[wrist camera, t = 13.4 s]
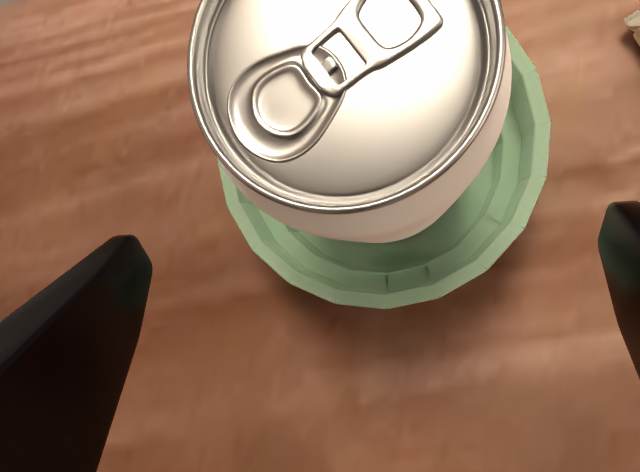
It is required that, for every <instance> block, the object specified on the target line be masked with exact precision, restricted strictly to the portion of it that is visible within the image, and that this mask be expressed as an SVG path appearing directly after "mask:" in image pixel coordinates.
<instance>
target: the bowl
mask: <svg viewBox="0 0 640 472" xmlns="http://www.w3.org/2000/svg"><path fill="white" fill-rule="evenodd" d="M505 29H506V33H507V37H508V42H509V47H510V53H511V63H512V83H511V93H510V100H509V105H508V110H507V114H506V117H505V121H504V124H503V127H502V130H501V133H500V135H499V138H498V140H497V143H496V145H495V147H494V149H493V151H492V153H491V155H490V156H489V158H488V160H487V161H486V163H485V164H484V166H483V168H482V169H481V171H480V172H479V173H478V175H477V176H476V178H475V179H474V180H473V181H472V183H471V184H470V185H469V186H468V188H467V189H466V190H465V191H464V192H463V193H462V194H461V196H460V197H459V198H458V199H457V200H456V201H455V202H454V203H453V204H452V205H451V206H450V207H449V208H448V209H447V210H446V211H445V212H444V213H443V214H442V215H441V216H440V217H439V218H438V219H437V220H436V221H435V222H434V223H433V224H431V225H430V226H429V227H427V228H426V229H424V230H423V231H421V232H419V233H417V234H415V235H413V236H411V237H408V238H406V239H402V240H399V241H394V242H387V243H366V242H354V241H344V240H337V239H330V238H324V237H320V236H316V235H312V234H309V233H305V232H302V231H299V230H297V229H294V228H292V227H289V226H287V225H285V224H283V223H281V222H279V221H278V220H276V219H274V218H273V217H271V216H269V215H268V214H266V213H265V212H263V211H262V210H261V209H259V208H258V207H257V206H255V205H254V204H253V203H252V202H251V201H250V200H249V199H247V198H246V197H245V196H244V195H243V194H242V192H241V191H240V190H239V189H238V188H237V187H236V186H235V184H234V183H233V182H232V181H231V179H230V178H229V176H228V175H227V173H226V172H225V170H224V169H223V167H222V165H221V163H220V162H219V160H218V158H217V160H218V161H217V163H218V167H219V172H220V176H221V181H222V185H223V190H224V195H225V199H226V204H227V207H228V210H229V211H230V213H231V215H232V217H233V218H234V220H235V222H236V224H237V225H238V227H239V229H240V231H241V232H242V234H243V236H244V237H245V239H246V241H247V243H248V244H249V246H250V248H251V249H253V252H254V253H256V254H257V255H258V256H259V257H260V258H261V259H262V260H263V261H264V262H265V263H267V264H268V265H269V266H270V267H271V268H272V269H273V270H274V271H275V272H276V273H278V274H279V275H280V276H281V277H282V278H283V279H284V280H285V281H286V282H289V284H291V285H293V286H296V287H298V288H300V289H302V290H304V291H307V292H309V293H311V294H313V295H316V296H318V297H320V298H322V299H324V300H327V301H329V302H331V303H335V304H340V305H349V306H358V307H367V308H377V309H391V308H396V307H401V306H406V305H410V304H415V303H420V302H425V301H430V300H434V299H438V298H441V297H442V296H444V295H446V294H448V293H449V292H451V291H453V290H455V289H456V288H458V287H460V286H462V285H463V284H465V283H467V282H469V281H470V280H472V279H474V278H476V277H477V276H479V275H481V274H483V273H484V272H486V270H488V269H489V268H490V267H491V266H492V265H493V264H494V263H495V262H496V260H497V259H498V258H499V257H500V256H501V255H502V254H503V253H504V252H505V250H506V249H507V248H508V247H509V246H510V245H511V244H512V243H513V242H514V240H515V239H516V238H517V237H518V236H519V235H520V234H521V233H522V232H523V229H524V228H525V227H526V225H527V222H528V220H529V218H530V216H531V213H532V211H533V209H534V206H535V204H536V202H537V199H538V197H539V195H540V193H541V190H542V188H543V186H544V183H545V181H546V177H547V170H548V157H549V145H550V132H551V123H550V122H551V120H550V116H549V112H548V109H547V105H546V101H545V97H544V94H543V90H542V86H541V82H540V79H539V75H538V71H537V70H536V67H535V66H534V65H533V63H532V62H531V60H530V59H529V57H528V56H527V54H526V53H525V51H524V50H523V49H522V47H521V46H520V44H519V43H518V41H517V40H516V38H515V37H514V36H513V34H512V33H511V31H510V30H509V28H508V27H507V26H506V25H505Z"/></svg>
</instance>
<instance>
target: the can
mask: <svg viewBox="0 0 640 472" xmlns="http://www.w3.org/2000/svg"><path fill="white" fill-rule="evenodd" d="M187 75H188V86H189V92H190V98H191V102H192V106H193V110H194V113H195V116H196V119H197V122H198V124H199V126H200V129H201V131H202V133H203V135H204V137H205V139H206V141H207V142H208V144H209V146H210V147H211V149H212V150H213V152H214V153H215V155H216V156H217V158H218V160H219V162H220V163H221V165H222V167H223V169H224V170H225V172H226V173H227V175H228V176H229V178H230V179H231V181H232V182H233V183H234V184H235V186H236V187H237V188H238V189H239V190H240V191H241V192H242V194H243V195H244V196H245V197H246V198H247V199H249V200H250V201H251V202H252V203H253V204H254V205H255V206H257V207H258V208H259V209H261V210H262V211H263V212H265V213H266V214H268V215H269V216H271V217H273V218H274V219H276V220H278V221H279V222H281V223H283V224H285V225H287V226H289V227H292V228H294V229H297V230H299V231H302V232H305V233H309V234H312V235H316V236H320V237H324V238H330V239H337V240H344V241H354V242H366V243H387V242H394V241H399V240H402V239H406V238H408V237H411V236H413V235H415V234H417V233H419V232H421V231H423V230H424V229H426V228H427V227H429V226H430V225H431V224H433V223H434V222H435V221H436V220H437V219H438V218H439V217H440V216H441V215H442V214H443V213H444V212H445V211H446V210H447V209H448V208H449V207H450V206H451V205H452V204H453V203H454V202H455V201H456V200H457V199H458V198H459V197H460V196H461V194H462V193H463V192H464V191H465V190H466V189H467V188H468V186H469V185H470V184H471V183H472V181H473V180H474V179H475V178H476V176H477V175H478V173H479V172H480V171H481V169H482V168H483V166H484V164H485V163H486V161H487V160H488V158H489V156H490V155H491V153H492V151H493V149H494V147H495V145H496V143H497V140H498V138H499V135H500V133H501V130H502V127H503V124H504V121H505V117H506V114H507V110H508V105H509V100H510V93H511V83H512V63H511V53H510V47H509V42H508V37H507V33H506V29H505V20H504V14H503V9H502V5H501V1H500V0H201V1H200V4H199V6H198V9H197V12H196V14H195V18H194V21H193V25H192V29H191V34H190V39H189V46H188V57H187Z"/></svg>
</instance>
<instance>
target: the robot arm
mask: <svg viewBox="0 0 640 472" xmlns="http://www.w3.org/2000/svg"><path fill="white" fill-rule="evenodd" d="M598 248H599V253H600V257H601V261H602V265H603V269H604V272H605V276H606V280H607V284H608V288H609V292H610V296H611V300H612V304H613V308H614V311H615V315H616V319H617V322H618V325H619V328H620V331H621V334H622V336H623V339H624V341H625V344H626V346H627V349H628V351H629V354H630V356H631V359H632V361H633V364H634V366H635V369H636V371H637V374H638V376H639V379H640V202H638V201H623V202H613V203H611V204H610V205H609V206H608V208H607V210H606V214H605V217H604V220H603V223H602V227H601V230H600V233H599V237H598ZM151 277H152V263H151V261H150V259H149V257H148V255H147V254H146V252H145V250H144V249H143V247H142V245H141V244H140V242H139V240H138V239H137V238H136V237H135V236H134V235H118V236H114V237H112V238H111V239H109V240H108V241H107V242H105V243H104V244H103V245H101V246H100V247H99V248H97V249H96V250H95V251H93V252H92V253H91V254H89V255H88V256H87V257H85V258H84V259H83V260H81V261H80V262H79V263H77V264H76V265H75V266H74V267H72V268H71V269H70V270H68V271H67V272H66V273H64V274H63V275H62V276H60V277H59V278H58V279H56V280H55V281H54V282H52V283H51V284H50V285H48V286H47V287H46V288H44V289H43V290H42V291H40V292H39V293H38V294H37V295H35V296H34V297H33V298H31V299H30V300H29V301H27V302H26V303H25V304H23V305H22V306H21V307H19V308H18V309H17V310H15V311H14V312H13V313H11V314H10V315H9V316H7V317H6V318H5V319H3V320H2V321H1V322H0V472H96V471H97V468H98V465H99V462H100V459H101V455H102V452H103V449H104V446H105V443H106V440H107V437H108V433H109V430H110V427H111V424H112V421H113V418H114V415H115V412H116V408H117V405H118V402H119V399H120V396H121V393H122V390H123V386H124V383H125V380H126V377H127V374H128V371H129V368H130V364H131V361H132V358H133V355H134V352H135V349H136V346H137V342H138V339H139V335H140V331H141V326H142V322H143V317H144V312H145V307H146V302H147V297H148V292H149V287H150V282H151Z"/></svg>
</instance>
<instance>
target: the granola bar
mask: <svg viewBox="0 0 640 472" xmlns="http://www.w3.org/2000/svg"><path fill="white" fill-rule="evenodd" d="M624 21H625V23H626V27H627V28H628V29H630V30H632V31H634V32H635V33H634V35H633V37H634V38H635V40H636V41H637V43H638V44H639V46H640V10H638V11H636V12H634V13H632V14H631V15H629V16H628V17H626V18H625V19H624Z"/></svg>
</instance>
